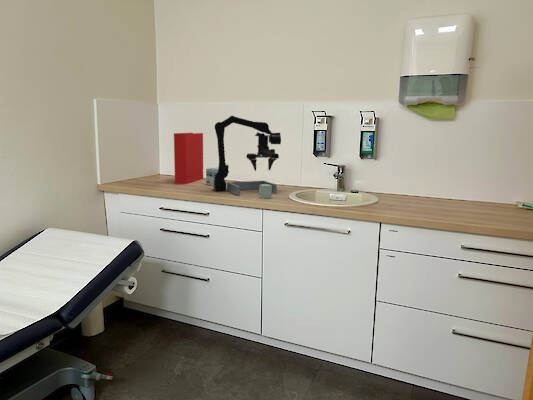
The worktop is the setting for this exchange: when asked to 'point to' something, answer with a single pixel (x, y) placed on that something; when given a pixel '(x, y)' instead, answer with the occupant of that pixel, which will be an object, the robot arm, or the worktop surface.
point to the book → (188, 157)
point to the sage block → (265, 191)
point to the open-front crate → (247, 186)
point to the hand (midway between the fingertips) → (262, 170)
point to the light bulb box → (211, 175)
